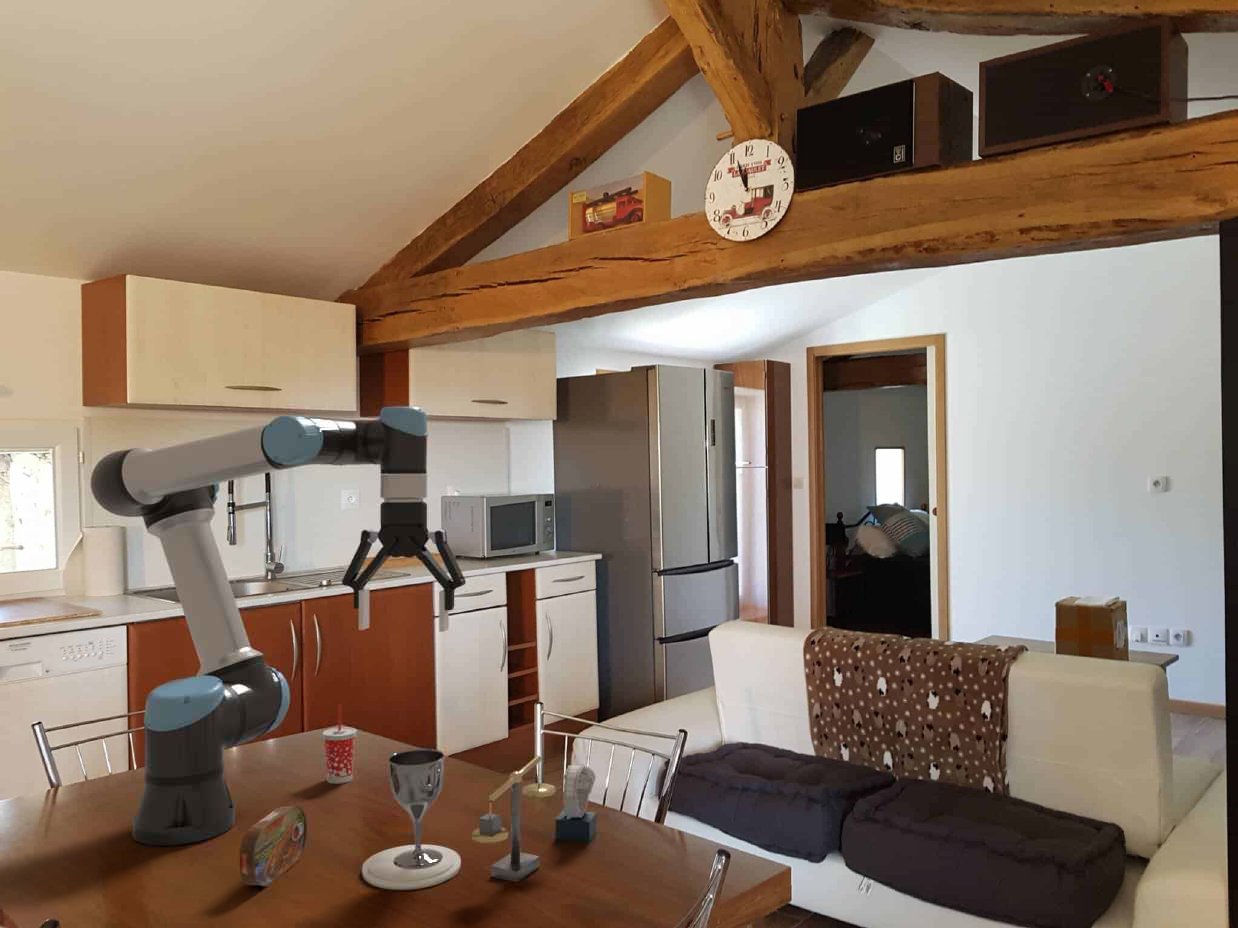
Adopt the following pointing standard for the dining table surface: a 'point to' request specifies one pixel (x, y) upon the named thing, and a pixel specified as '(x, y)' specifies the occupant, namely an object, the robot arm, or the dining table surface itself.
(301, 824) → the tin
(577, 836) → the watch
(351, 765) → the beverage cup
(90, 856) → the dining table surface
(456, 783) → the dining table surface
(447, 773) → the dining table surface
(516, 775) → the balance
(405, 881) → the dish
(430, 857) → the wine glass
